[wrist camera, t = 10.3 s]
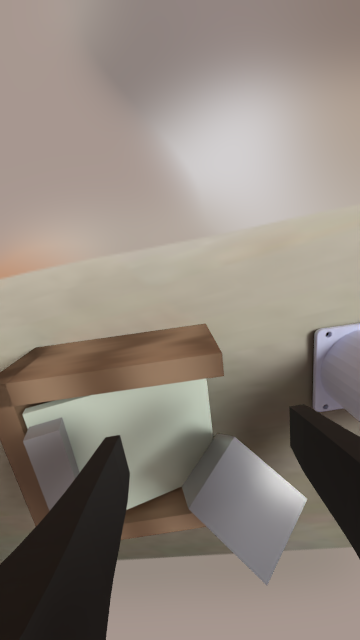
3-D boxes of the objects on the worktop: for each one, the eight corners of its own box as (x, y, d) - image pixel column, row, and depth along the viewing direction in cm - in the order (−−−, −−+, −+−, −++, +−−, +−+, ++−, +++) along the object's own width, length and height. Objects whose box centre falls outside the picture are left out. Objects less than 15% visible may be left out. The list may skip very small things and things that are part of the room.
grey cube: (217, 432, 19) (234, 436, 14) (271, 479, 18) (307, 498, 13) (181, 486, 17) (188, 508, 13) (238, 540, 16) (266, 585, 12)
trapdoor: (198, 357, 18) (212, 370, 16) (211, 461, 20) (224, 483, 18) (27, 404, 15) (15, 427, 12) (68, 520, 17) (64, 555, 15)
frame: (205, 323, 19) (221, 352, 14) (219, 455, 23) (237, 522, 17) (35, 347, 19) (-21, 387, 13) (76, 476, 23) (46, 551, 17)
